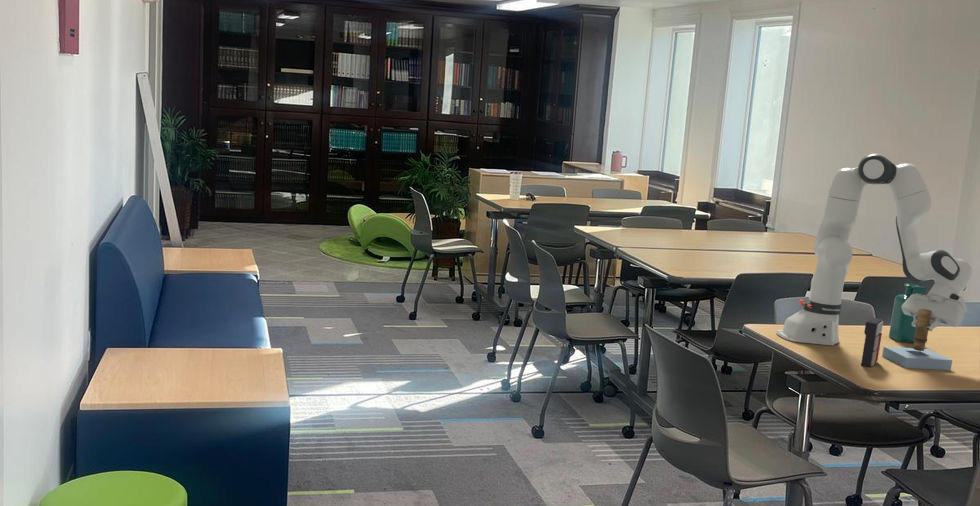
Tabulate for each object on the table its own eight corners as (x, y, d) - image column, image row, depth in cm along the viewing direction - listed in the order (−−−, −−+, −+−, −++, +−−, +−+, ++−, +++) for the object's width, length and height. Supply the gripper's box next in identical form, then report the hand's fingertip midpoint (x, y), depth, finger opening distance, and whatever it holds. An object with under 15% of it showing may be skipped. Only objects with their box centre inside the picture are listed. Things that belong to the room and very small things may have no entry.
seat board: (904, 367, 312) (906, 357, 311) (882, 356, 326) (883, 346, 325) (950, 370, 314) (952, 360, 314) (926, 358, 328) (927, 349, 328)
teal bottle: (886, 336, 359) (895, 281, 355) (907, 337, 360) (916, 282, 356) (900, 342, 349) (909, 286, 346) (921, 344, 350) (930, 287, 347)
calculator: (872, 368, 307) (879, 324, 305) (858, 365, 310) (865, 321, 307) (878, 361, 317) (885, 319, 314) (864, 359, 319) (871, 317, 316)
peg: (916, 351, 317) (923, 311, 315) (909, 347, 321) (915, 308, 319) (928, 351, 318) (934, 312, 315) (920, 348, 322) (927, 309, 319)
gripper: (910, 286, 328) (890, 314, 324) (967, 298, 312) (947, 329, 308) (915, 297, 332) (896, 326, 328) (971, 310, 315) (952, 340, 311)
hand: (921, 327), depth 318 cm, fingers closed on peg, 4 cm apart
